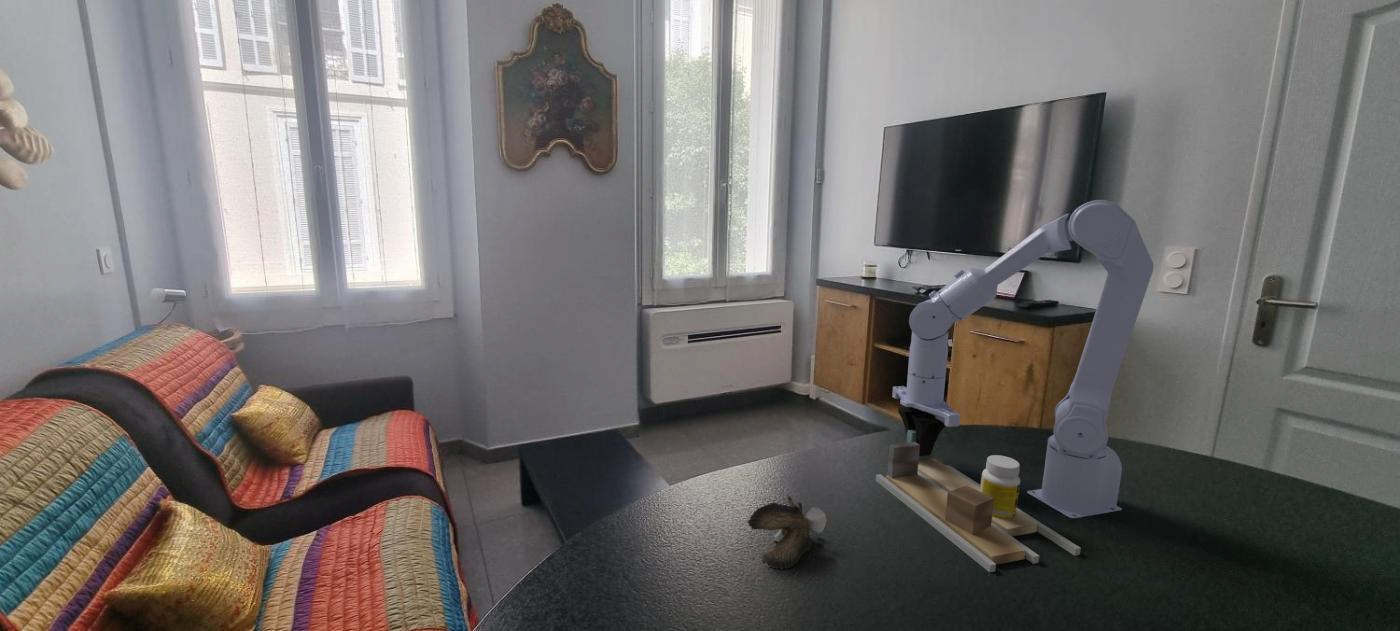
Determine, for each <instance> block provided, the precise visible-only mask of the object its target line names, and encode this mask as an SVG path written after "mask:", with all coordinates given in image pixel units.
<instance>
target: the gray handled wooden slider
mask: <svg viewBox="0 0 1400 631" xmlns="http://www.w3.org/2000/svg"><path fill="white" fill-rule="evenodd" d="M919 450H920V445H919V444H918V443H916V442H910V443H907V442H903V443H895V444H889V446H888V458H887V471H886V472H887V474H886V475H885V478H886V479H887V480H889V481H890V482H891V483H893V484H894V485H895V486H896V487H898V488H899V489H900V490H902V491H903V492H904V493H905V494H907V495H908V496H909V497H911V498H912V499H913V500H914V501H916V502H917V503H918V504H920V505H921V506H922V507H923V508H925V509H926V510H927V511H929V512H930V513H931V514H932V515H934V516H935V517H936V518H938V519H939V520H940V521H941V522H943V523H944V524H945V525H946V526H948V527H949V528H950V529H952V530H953V531H954V532H955V533H957V534H958V535H959V536H961V537H962V538H963V539H964V540H966V541H967V542H968V543H970V544H971V545H972V546H973V547H975V548H976V549H977V550H979V551H980V552H981V553H982V554H984V555H985V556H986V557H988V558H989V559H990V560H991V561H993V562H994V563H995V564H996V565H1001V564H1007V563H1011V562H1012V563H1013V562H1016V561H1021V560H1026V558H1025V552H1026V550H1025V549H1023V548H1022V547H1020V546H1019V545H1018V544H1016V543H1015V542H1013V541H1012V540H1010V539H1009V538H1008V537H1006V536H1005V535H1003V534H1002V533H1001V532H999V531H998V530H996V529H995V528H993V527H992V526H990V527H988V528H986V529H984V530H981V531H979V532H977V533H975V534H973V535H972V534H970V533H968V532H966V531H965V530H963V529H961V528H959V527H957V526H955V525H953V524H951V523H950V522H948V521H946V520H945V516H946V505H947V495H946V494H945V493H944V492H942V491H941V490H939V489H938V488H937V487H935V486H934V485H932V484H931V483H929V482H928V481H927V480H925V479H924V478H922V477H921V476H919V475H918V474H917V473H918V461H919Z"/></svg>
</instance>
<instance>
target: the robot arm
mask: <svg viewBox="0 0 1400 631" xmlns="http://www.w3.org/2000/svg"><path fill="white" fill-rule="evenodd" d="M1069 214H1070V213H1066V214H1064V215H1062V216H1060V217H1058V218H1056V219H1054V220H1052V221H1050V222H1048V223H1046V224H1044V225H1043V226H1041V227H1039V228H1037V229H1036V230H1035V231H1034V232H1032V233H1031V234H1030V235H1028V236H1027V237H1026V238H1024V239H1023V240H1022V241H1020V242H1019V243H1018V244H1016V245H1015V246H1013V247H1012V248H1011V249H1009V250H1008V251H1007V252H1006V253H1004V254H1002V256H1000V257H999V258H998V259H996V260H994V261H993V262H992V263H991V264H990V265H988V266H987V267H985V268H976V267H970V268H968V269H967V270H966V271H964V270H963V269H960V270H959V271H958V272H956V273H955V274H954V277H955V279H953V280H952V281H950V282H948V284H945V286H944V287H942V288H941V289H939V290H937V291H936V290H933V291H931V292H930V293H929V294H928V296H929V298H930V299H927V300H924V301H923V302H919V303H918V304H917V305H916V306H915V307H914V308H913V310H912V311H911V312H910V315H909V317H908V318H909V319H908V324H909V327H910V330H911V341H910V346H909V352H908V354H909V355H908V366H907V367H908V368H907V379H906V381H907V382H906V386H904V385H901V386H900V385H899V386H892V394H891V395H892V398H894V399H896V400H900V402H899V403H900V405H902V406H901V407H898V409H897V412H898V414H899V415H900V418H901V420H902V423H903V425H904V429H905V433H906V435H907V431H908V430H915V429H916V434H917V443H918V444H919V445H920V450H919V456H929V455H930V454H931V452H932V449H933V447H934V444H935V445H936V442H937V440H938V438H939V436H940V434H941V433H942V431H943V430H944V428H945V427H947V428H952V427H953V428H954V427H959V426H960V422H961V414H960V413H958V412H957V411H956V410H954V409H953V408H952V407H951V406H950V405H949V404H948V403H947V402H945V400H944V398H945V396H944V395H945V388H946V387H945V385H946V375H947V364H948V356H949V355H948V354H949V347H948V343H949V342H948V340H949V330H950V329H951V328H952V326H953V325H954V323H960V322H963V320H965V319H967V317H969V316H970V315H972V314H973V313H975V312H977V311H978V310H980V309H981V308H983V307H984V306H986V305H987V304H988V303H990V302H992V301H993V300H994V299H996V298H997V293H998V287H999V285H1000V284H1002V283H1003V282H1005V281H1006V280H1008V279H1009V278H1011V277H1013V276H1014V275H1016V274H1017V273H1019V272H1020V271H1022V270H1023V269H1025V268H1027V267H1029V266H1030V265H1031V264H1033V263H1034V262H1035V261H1037V260H1039V259H1040V258H1042V257H1043V256H1045V255H1047V254H1049V253H1055V252H1062V251H1063V252H1064V251H1068V250H1072V244H1071V242H1072V241H1074V243H1076V244H1077V245H1079V247H1082V248H1083V249H1084V250H1086V251H1088V252H1089V253H1092V255H1094V256H1095V258H1096V259H1097V261H1098V262H1099V263H1100V264H1101V266H1102V267H1103V268H1104V269H1105V271H1106V272H1107V275H1106V279H1105V281H1104V285H1103V288H1102V291H1101V295H1100V297H1099V300H1098V304H1097V306H1096V310H1095V313H1094V316H1093V319H1092V321H1091V326H1090V328H1089V332H1088V334H1087V339H1086V341H1085V345H1084V348H1083V350H1082V353H1081V356H1080V360H1079V363H1078V366H1077V370H1076V373H1075V375H1074V378H1073V381H1072V382H1071V384H1070V388H1069V390H1068V392H1067V394H1066V396H1064V398H1063V399H1061V400H1060V401H1059V402H1058V403H1057V404H1056V406H1055V408H1054V419H1055V420H1054V422H1055V423H1054V426H1053V435H1050V436H1049V437H1048V438H1047V446H1046V453H1045V460H1044V463H1045V464H1044V469H1043V477H1042V484H1041V488H1039V489H1032V490H1027V492H1026V493H1027V494H1029V495H1031V496H1032V497H1034V498H1036V499H1037V500H1039V501H1041V502H1043V503H1045V504H1046V505H1048V506H1049V507H1051V508H1053V509H1054V510H1056V511H1058V512H1060V513H1061V514H1063V515H1065V516H1067V517H1068V518H1070V519H1077V518H1083V517H1089V516H1094V515H1095V516H1096V515H1100V514H1106V513H1111V512H1117V511H1122V510H1123V508H1121V507H1120V506H1118V498H1119V493H1120V492H1119V491H1120V485H1121V479H1122V478H1121V477H1122V473H1123V466H1122V462H1121V460H1120V457H1119V455H1118V454H1117V453H1116V451H1114V450H1113V449H1112V448H1111V447H1109V446H1108V445H1107V444H1108V442H1109V441H1108V440H1109V431H1108V428H1107V425H1106V422H1107V416H1108V414H1109V411H1110V405H1111V399H1112V398H1111V397H1112V393H1113V389H1114V387H1115V384H1116V381H1117V378H1118V376H1119V373H1120V372H1119V371H1120V368H1121V366H1122V363H1123V360H1124V357H1125V354H1126V351H1127V349H1128V346H1129V343H1130V340H1131V336H1132V334H1133V331H1134V328H1135V325H1136V322H1137V319H1138V316H1139V314H1140V310H1141V307H1142V304H1143V302H1144V298H1145V295H1146V293H1147V290H1148V287H1149V284H1150V281H1151V278H1152V276H1153V272H1154V262H1153V260H1152V258H1151V255H1150V253H1149V251H1148V248H1147V246H1146V243H1145V241H1144V239H1143V236H1142V235H1141V233H1140V230H1139V227H1138V225H1137V221H1136V220H1135V219H1133V218H1134V217H1133V218H1132V216H1130V214H1129V213H1127V211H1125V209H1123V208H1122V207H1121V206H1120V205H1118V204H1117V203H1115V202H1113V201H1110V200H1104V199H1095V200H1091V201H1088V202H1084V203H1083V204H1082V205H1080V206H1078V207H1076V209H1074V211H1072V213H1071V214H1070V217H1069ZM1067 218H1069V219H1068V220H1067ZM934 448H935V447H934Z"/></svg>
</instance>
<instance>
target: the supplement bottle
mask: <svg viewBox="0 0 1400 631" xmlns="http://www.w3.org/2000/svg"><path fill="white" fill-rule="evenodd" d="M1020 468H1021V466H1020V463H1019V461H1017V460H1016V459H1014V458H1012V457H1008V456H1005V455H1000V454H999V455H998V454H992V455H989V456H988V457H987V458H986V463H985V468H984V469H983V471H982V473H981V478H980V483H979V484H980V492H982V493H984V494H986V495H989V496H991V497H993V498H994V505H993V514H992V516H993V517H997V518H1012V517H1014V516H1015V514H1016V508H1018V502H1019V494H1020V488H1021V479H1020V477H1019V474H1020Z"/></svg>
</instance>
